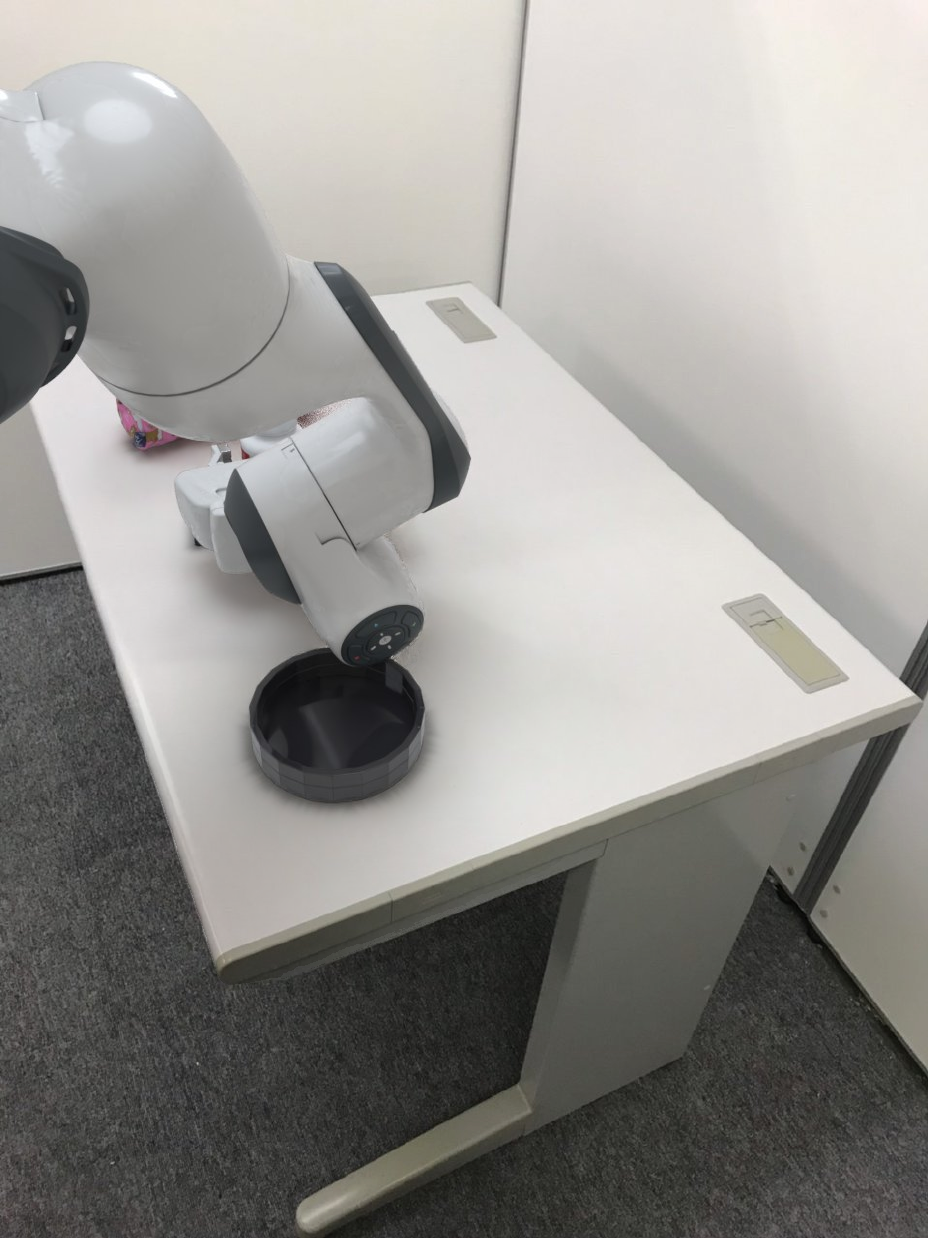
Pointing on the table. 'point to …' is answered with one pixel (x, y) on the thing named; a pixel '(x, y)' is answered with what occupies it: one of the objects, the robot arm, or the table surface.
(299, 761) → the pan
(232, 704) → the table surface
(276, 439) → the pill bottle
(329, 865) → the table surface
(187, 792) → the table surface
